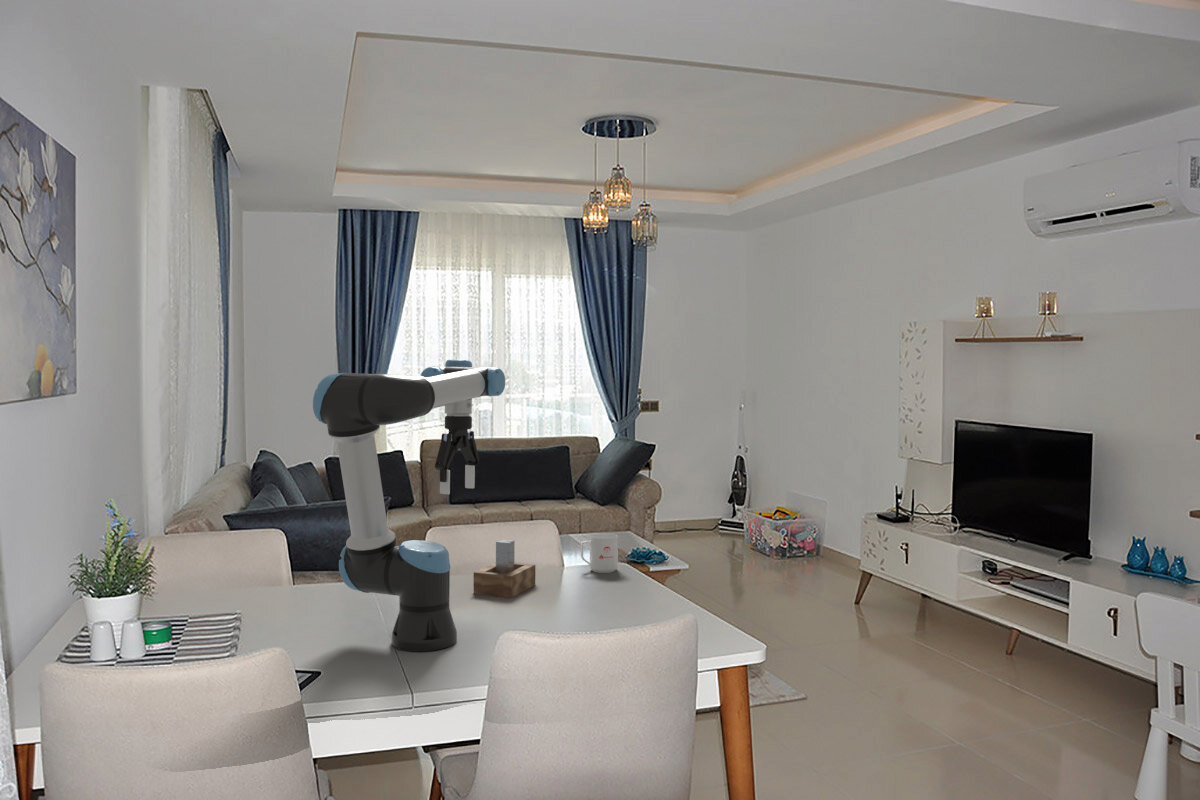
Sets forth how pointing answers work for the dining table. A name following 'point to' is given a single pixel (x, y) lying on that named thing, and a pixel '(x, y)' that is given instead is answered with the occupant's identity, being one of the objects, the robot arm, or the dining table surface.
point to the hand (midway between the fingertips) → (457, 491)
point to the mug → (602, 552)
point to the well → (504, 580)
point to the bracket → (505, 556)
